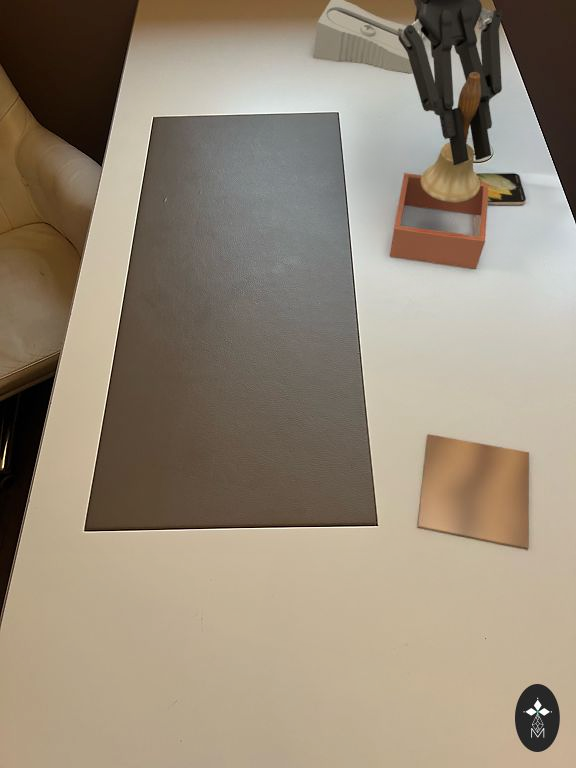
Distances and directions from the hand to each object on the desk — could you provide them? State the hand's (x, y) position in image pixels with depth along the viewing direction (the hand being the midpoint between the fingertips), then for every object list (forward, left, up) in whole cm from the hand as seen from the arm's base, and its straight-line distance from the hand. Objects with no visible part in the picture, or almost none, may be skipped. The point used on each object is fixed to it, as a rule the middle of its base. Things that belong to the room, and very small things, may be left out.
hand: (472, 160), depth 81 cm
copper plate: (-6, +39, -16) cm, 42 cm away
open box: (+2, -3, -16) cm, 16 cm away
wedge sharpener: (+20, -54, -16) cm, 60 cm away
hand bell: (+2, -3, -7) cm, 8 cm away
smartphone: (-3, -15, -16) cm, 22 cm away
